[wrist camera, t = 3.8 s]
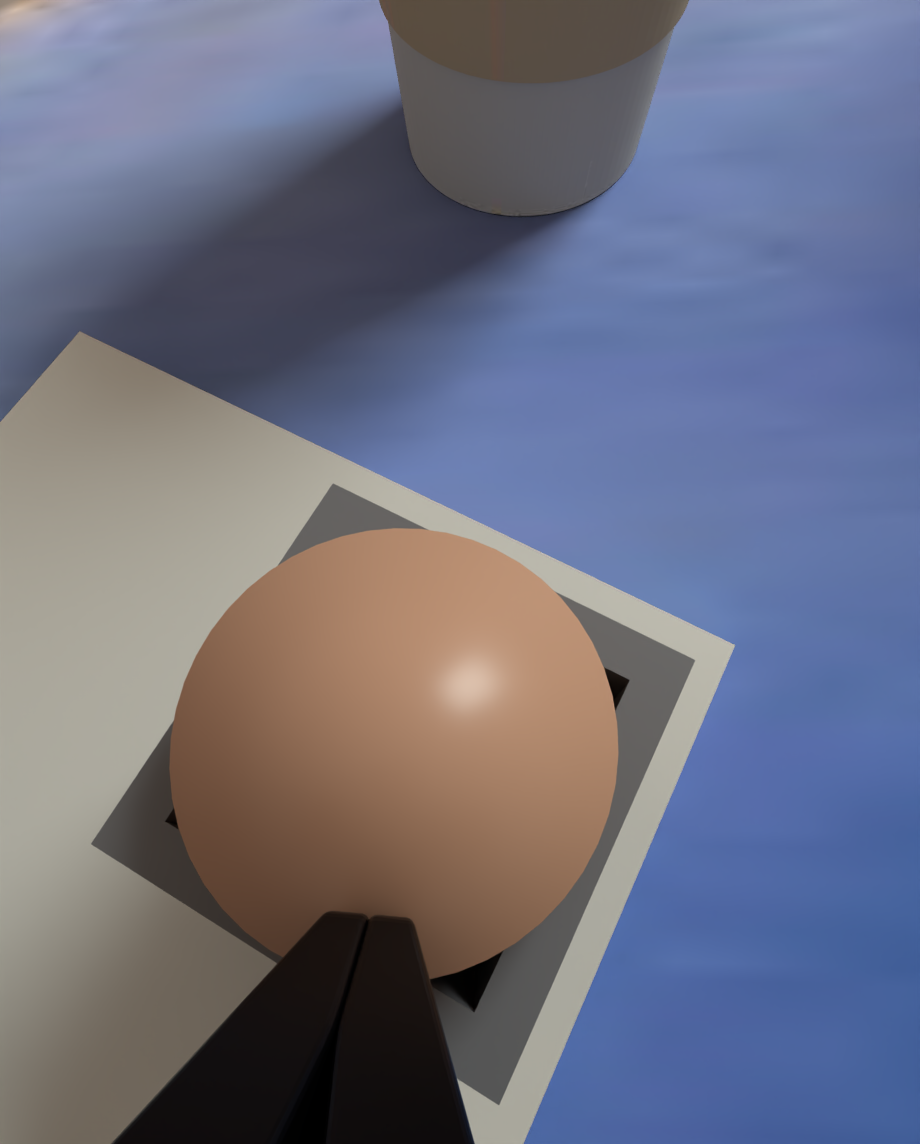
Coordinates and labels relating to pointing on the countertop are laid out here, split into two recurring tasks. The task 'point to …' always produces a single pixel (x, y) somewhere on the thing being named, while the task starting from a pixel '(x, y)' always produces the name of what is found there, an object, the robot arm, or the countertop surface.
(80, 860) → the grey button stand
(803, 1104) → the countertop surface
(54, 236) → the countertop surface
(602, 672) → the terracotta button
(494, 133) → the coffee cup
